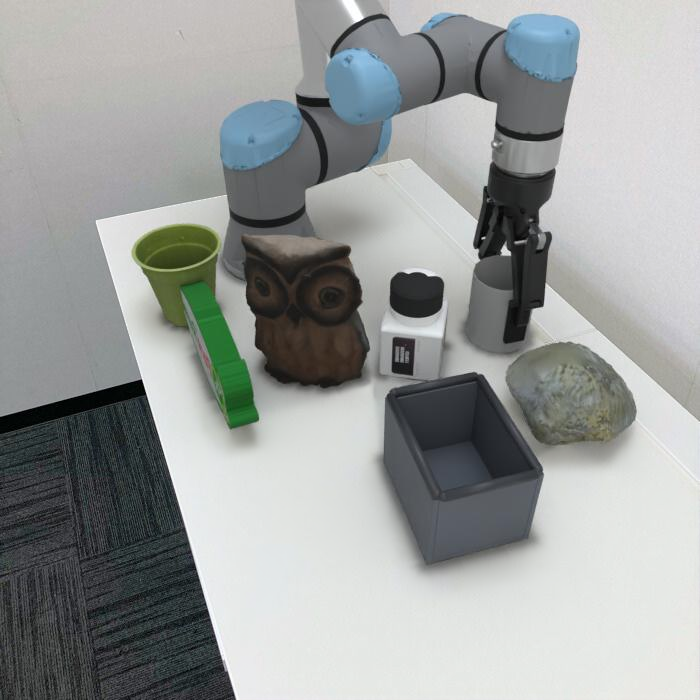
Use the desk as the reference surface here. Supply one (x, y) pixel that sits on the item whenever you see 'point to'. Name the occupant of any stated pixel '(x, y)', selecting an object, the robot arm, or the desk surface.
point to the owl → (305, 309)
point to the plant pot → (177, 263)
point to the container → (414, 326)
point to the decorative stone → (570, 394)
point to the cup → (491, 305)
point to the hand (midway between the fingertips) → (498, 320)
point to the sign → (219, 355)
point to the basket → (459, 466)
